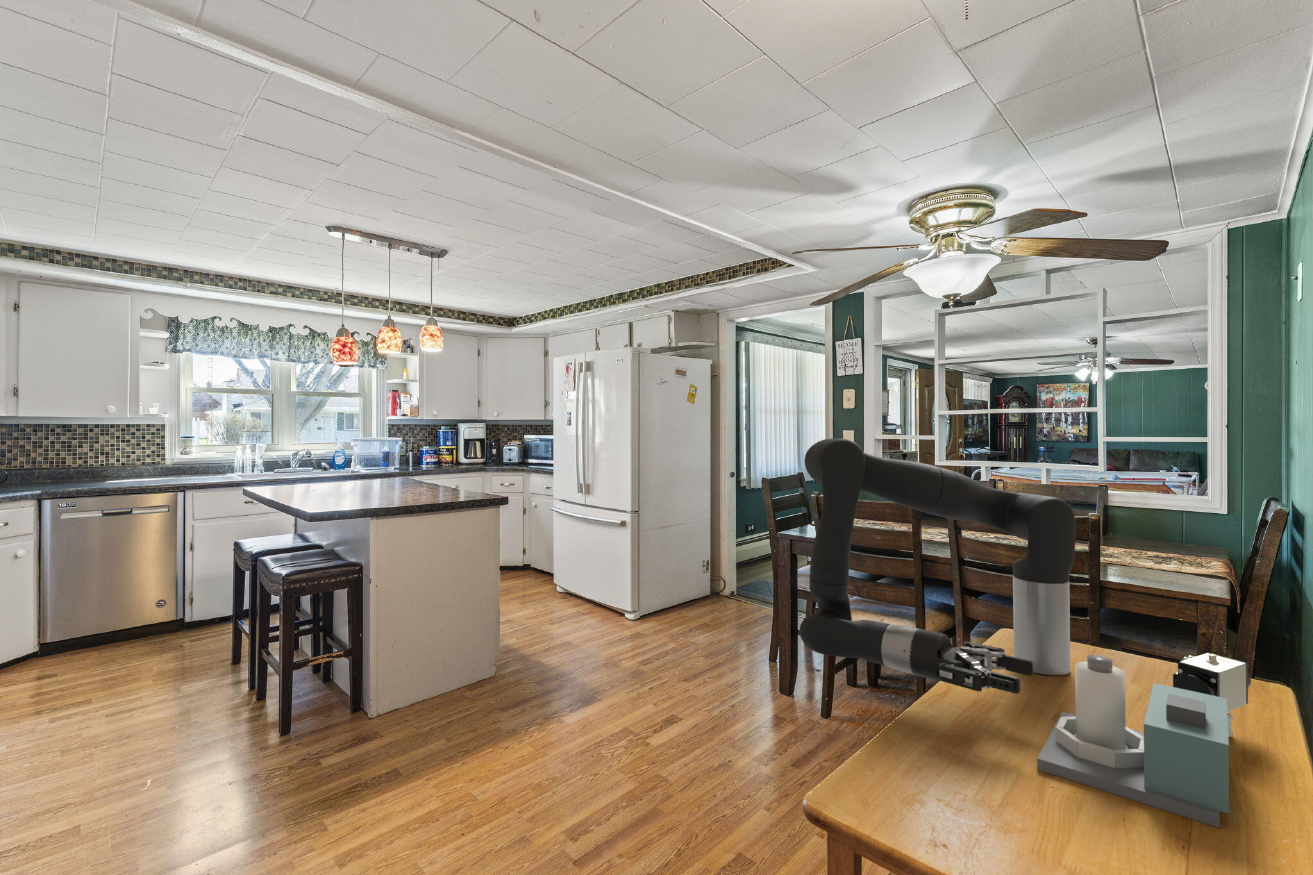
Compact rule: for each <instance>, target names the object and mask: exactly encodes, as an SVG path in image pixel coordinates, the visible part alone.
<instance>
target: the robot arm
mask: <svg viewBox="0 0 1313 875" xmlns="http://www.w3.org/2000/svg"><path fill="white" fill-rule="evenodd" d="M803 461H804V467H805V471H806V472H807V473H808V475H809V477H811V479H813V481H814V482H816V483H818V484H819V485H821V487H822V509H821V514H820V515H821V516H820V520H819V525H818V527H817V530H816V533H815V537H814V540H813V544H812V548H811V554H810V555H811V556H810V565H809V566H810V567H809V583H808V586H809V592H810V594H811V595H812V596H813V597H815V598H816V599H817V612H814V613H811V614H809V615H807V616H805V617H804V618H803V620H802V621H801V624H800V625H799V636H800V639H801V641H802V643H803V644H804V645H805V646H806V647H807V648H808V649H810V651H813V652H815V653H817V654H820V655H824V656H831V657H839V658H846V659H847V658H849V659H859V660H864V661H867V662H871V663H874V664H878V665H881V666H885V667H889V668H892V669H894V670H895V671H899V672H903V673H905V674H906V673H907V674H910V675H914V676H918V677H922V678H925V679H930V680H933V681H937V682H943V683H947V684H951V685H954V686H957V687H961V688H965V689H968V690H972V691H974V692H982V691H983V689H986V690H988V689H991V688H992V689H995V690H1001V691H1004V692H1007V693H1012V694H1014V695H1015V694H1016V695H1017V694H1020V691H1021V679H1020V678H1019V677H1018V676H1013V675H1010V674H1005V673H1002V672H1001V673H1000V672H997V671H993V670H1000V671H1001V670H1005V671H1008V672H1011V673H1016V674H1021V675H1025V676H1033V674H1034V673H1035V674H1041V675H1046V676H1047V675H1048V676H1065V675H1069V674H1070V672H1071V621H1070V620H1071V615H1070V614H1071V612H1070V607H1071V606H1070V605H1071V604H1070V603H1071V602H1070V599H1071V598H1070V575H1071V574H1070V573H1071V571H1072V569H1073V567H1074V564H1075V557H1076V555H1075V554H1076V538H1077V537H1076V536H1077V523H1076V516H1075V513H1074V510H1073V508H1072V507H1071V505H1070V504H1069V503H1067V501H1065V500H1064V499H1061V498H1058V497H1054V496H1047V495H1042V494H1035V493H1023V492H1013V491H1009V490H1002V489H998V488H993V487H989V486H986V485H985V484H982V483H980V482H978V481H977V480H976V479H975V480H974V479H972V478H971V477H969V476H967V475H965V474H963V473H961V472H957V471H955V470H950V469H947V468H944V467H939V466H937V465H932V464H930V463H929V464H927V463H923V462H918V461H911V460H903V459H894V458H888V457H887V458H886V457H880V456H877V455H873V454H869V453H867V452H864V451H863V449H862V447H861V446H860V445H858V443H856V442H855V441H853V440H851V439H848V438H825V439H821V440H818V441H817V442H816V443H814V444H813V445H811V446H810V447H809V448H808V449H807V450H806V453H805V455H804V460H803ZM861 492H865V493H868V494H873V495H875V496H877V497H880V498H882V499H885V500H887V501H890V502H892V503H896V504H898V505H900V506H903V507H906V508H908V509H909V508H910V509H912V510H914V511H915V510H916V511H919V512H920V513H921V512H922V513H924V514H928V515H933V516H936V517H939V518H940V517H941V518H943V519H944V518H946V519H950V520H955V521H967V522H975V523H980V524H983V525H986V526H989V527H992V528H994V529H997V530H1000V531H1001V532H1005V533H1007V534H1009V535H1012V536H1014V537H1015V538H1016V537H1017V538H1018V539H1021V540H1024V541H1027V546H1026V548H1027V549H1026V555H1025V556H1024V557H1022V558H1020V559H1015V561H1013V564H1012V600H1013V601H1012V602H1013V603H1012V605H1013V608H1012V612H1013V616H1012V617H1013V626H1012V627H1013V656H1012V655H1007V653H1006V652H1005V649H1004V648H1002V647H996V646H992V645H986V644H981V643H975V642H970V641H964V642H963V645H961V646H960V647H959V646H958V647H957V646H953V645H952V643H951V639H950V638H949V636H948V635H947V634H945V633H941V632H938V631H937V632H936V631H932V630H927V629H922V628H918V627H913V626H908V625H900V624H899V625H898V624H891V623H886V622H881V621H877V620H871V619H860V620H852V619H853V618H852V609H851V604H850V598H849V594H848V590H849V576H850V558H851V547H852V546H851V545H852V538H853V537H852V536H853V529H854V524H855V518H856V512H857V507H858V502H859V497H860V493H861Z"/></svg>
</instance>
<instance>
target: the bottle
mask: <svg viewBox="0 0 1313 875" xmlns="http://www.w3.org/2000/svg"><path fill="white" fill-rule="evenodd" d="M1086 658H1087V660H1086V661H1078V662H1076V663H1075V664H1074V667H1075V670H1074V671H1075V672H1074V673H1075V676H1074V677H1075V680H1074V681H1075V684H1074V685H1075V715H1076V733H1075V734H1074V736H1075V737H1076V738H1078V739H1079V740H1081V741H1084V742H1087V743H1091V744H1094V745H1098V746H1101V747H1105V748H1109V749H1112V750H1121V749H1128V748H1127V746H1126V727H1127V726H1126V724H1127V723H1126V672H1125V671H1124V670H1123V669H1121V668H1119V667H1116V666H1114V665H1113V659H1111V658H1110V657H1108V656H1104V655H1099V654H1088V655H1087V657H1086Z"/></svg>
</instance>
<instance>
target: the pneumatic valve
mask: <svg viewBox="0 0 1313 875" xmlns="http://www.w3.org/2000/svg"><path fill="white" fill-rule="evenodd" d="M1251 684H1252V679H1251V676H1250V673H1249V663H1248V662H1247V661H1243V660H1239V659H1236V658H1230V657H1228V656H1224V655H1220V654H1215V653H1212V652H1206V653H1204V654H1200V655H1197V656H1193V655H1188V656H1184V657H1183V658H1182V660H1181V661H1178V662H1177V672H1176V673H1173V674H1172V687H1175V688H1180V689H1184V690H1189V691H1194V692H1198V693H1203V694H1208V695H1213V696H1217V697H1222V698H1227V717H1228V739H1229V738H1231V737H1234V732H1233V731H1232V728H1233V722H1232V720H1234V716H1233V714H1231V713H1230V712H1231V711H1233V710H1236V709H1238V708H1241V707H1244V706H1246V705H1248V704H1249V688H1250V687H1251Z"/></svg>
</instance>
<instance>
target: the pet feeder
mask: <svg viewBox="0 0 1313 875" xmlns="http://www.w3.org/2000/svg"><path fill="white" fill-rule="evenodd" d="M1149 697H1150V698H1149V700H1148V705H1147V708H1146V713H1145V716H1144V720H1143V732H1141V731H1137V730H1134V729H1131V728H1129V727H1128V726H1126V746H1127V748H1128V749H1121V750H1112V749H1109V748H1105V747H1101V746H1098V745H1094V744H1091V743H1087V742H1084V741H1081V740H1079V739H1078V738H1076V737H1075V736H1074V734H1075V733H1076V714H1071V713H1069V712H1064V711H1061V712H1060V715H1059V717H1058V719H1057V721H1056V722H1055V725H1054V727H1053V728H1052V730H1051V732H1050V734H1049V736H1048V738H1047V739H1046V741H1045V743H1044V745H1043V747H1042V749H1041V751H1040V752H1039V754H1038V757H1037V758H1036V759H1037V760H1036V761H1037V762H1036V763H1037V764H1036V766H1037V770H1039V771H1041V772H1045V773H1048V774H1052V775H1053V776H1056V777H1060V778H1064V779H1066V780H1068V781H1073V782H1075V783H1078V784H1082V785H1085V786H1088V787H1092V788H1095V789H1096V790H1097V789H1098V790H1099V791H1103V792H1107V793H1109V794H1113V795H1116V796H1120V797H1122V798H1125V799H1128V800H1132V801H1134V802H1137V803H1140V804H1144V805H1147V806H1150V807H1153V808H1156V809H1159V810H1163V811H1166V812H1168V813H1171V814H1175V815H1178V816H1182V817H1184V818H1188V819H1191V820H1193V821H1196V822H1199V823H1203V824H1206V825H1209V826H1213V827H1216V828H1218V829H1220V828H1221V824H1220V823H1221V819H1220V818H1221V816H1220V815H1221V812H1222V813H1225V814H1228V815H1230V771H1229V770H1230V765H1229V764H1230V763H1229V762H1230V761H1229V760H1230V755H1229V754H1230V750H1229V749H1230V748H1229V744H1230V743H1229V738H1228V717H1227V713H1228V712H1227V698H1222V697H1217V696H1213V695H1208V694H1203V693H1198V692H1194V691H1189V690H1184V689H1180V688H1175V687H1173V686H1170V685H1165V684H1159V683H1156V682H1154V683H1153V684H1152V688H1151V692H1150V696H1149Z"/></svg>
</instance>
